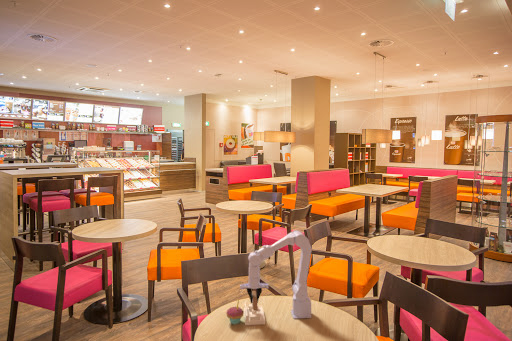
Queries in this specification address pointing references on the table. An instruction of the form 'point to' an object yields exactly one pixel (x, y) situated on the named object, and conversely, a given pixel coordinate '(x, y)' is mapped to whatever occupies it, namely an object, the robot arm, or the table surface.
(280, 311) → the table surface
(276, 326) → the table surface
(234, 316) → the cupcake
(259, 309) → the cream lipped block
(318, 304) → the table surface
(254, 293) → the brown wooden bar
